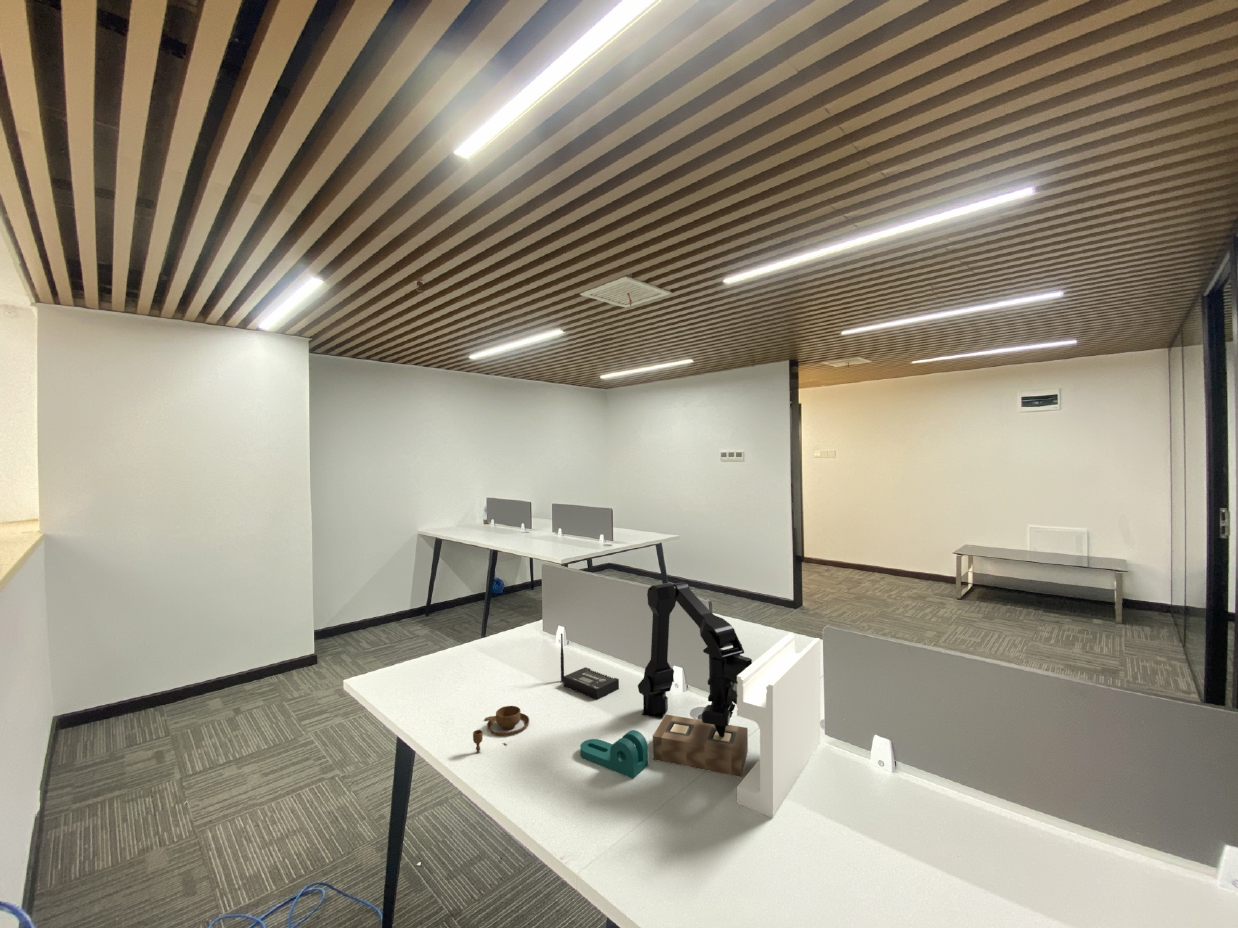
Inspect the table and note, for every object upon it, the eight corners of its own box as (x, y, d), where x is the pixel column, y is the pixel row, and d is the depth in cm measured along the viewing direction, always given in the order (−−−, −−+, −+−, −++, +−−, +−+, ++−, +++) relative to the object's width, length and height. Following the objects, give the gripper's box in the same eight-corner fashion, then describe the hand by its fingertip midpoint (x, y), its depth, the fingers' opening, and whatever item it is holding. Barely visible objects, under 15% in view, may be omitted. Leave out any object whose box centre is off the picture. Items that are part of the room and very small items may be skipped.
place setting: (542, 732, 145) (542, 711, 145) (476, 759, 132) (475, 736, 132) (512, 710, 159) (512, 691, 159) (449, 733, 146) (449, 712, 146)
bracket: (648, 765, 128) (647, 734, 128) (633, 779, 122) (632, 746, 122) (591, 744, 138) (590, 715, 138) (575, 756, 132) (574, 726, 132)
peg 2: (713, 761, 128) (712, 738, 128) (716, 753, 132) (715, 730, 132) (729, 764, 127) (728, 741, 127) (731, 756, 131) (731, 733, 131)
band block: (653, 759, 130) (652, 736, 130) (666, 736, 141) (665, 714, 141) (741, 777, 122) (740, 752, 122) (747, 750, 133) (747, 727, 133)
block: (773, 818, 108) (772, 685, 107) (737, 802, 112) (736, 675, 112) (820, 743, 136) (819, 638, 136) (789, 734, 141) (789, 632, 140)
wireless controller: (622, 688, 173) (621, 637, 173) (593, 703, 162) (592, 649, 162) (581, 673, 186) (580, 626, 186) (552, 686, 176) (551, 636, 176)
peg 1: (670, 753, 132) (670, 731, 132) (674, 745, 136) (674, 723, 136) (685, 756, 131) (685, 733, 131) (689, 747, 135) (689, 726, 135)
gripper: (748, 694, 118) (750, 762, 118) (757, 664, 135) (758, 724, 135) (700, 687, 122) (702, 753, 122) (715, 659, 139) (716, 717, 139)
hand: (722, 736), depth 129 cm, fingers closed, pressing on peg 2
